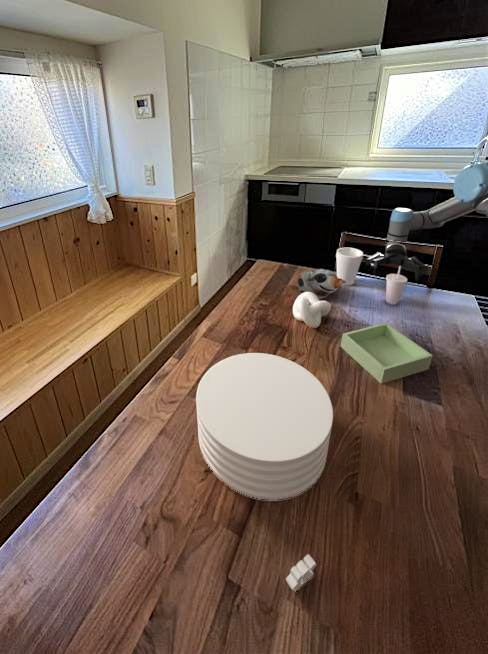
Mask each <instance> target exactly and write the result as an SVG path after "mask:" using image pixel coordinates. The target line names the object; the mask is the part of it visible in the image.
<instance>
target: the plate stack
mask: <svg viewBox="0 0 488 654" xmlns="http://www.w3.org/2000/svg"><path fill="white" fill-rule="evenodd" d="M195 405H196V406H195V407H196V421H197V436H198V443H199V444H198V446H199V449H200V452H201V455H202V454H203V455H202V458H203V461H204V462H205V464H206V465H207V464H208V465H207V467H208V468H209V467H210V468H209V470H210V471H211V470H212V471H213V472H212V471H211V472H212V474H213V475H214V476H215V477H216V479H218V480H219V481H220V482H221V483H222V484H224V483H226V484H227V485H228V486H229V487H228V486H227V485H226V484H224V485H225V486H226V487H228V488H229V489H230V490H232V491H233V492H236V493H237V494H240V495H242V496H244V497H247V498H250V499H254V500H257V501H265V502H280V501H281V502H282V501H286V500H290V499H294V498H296V497H298V496H300V495H303V494H304V493H306V492H307V491H308V490H310V489H311V488H312V487H313V486H314V485H315V484H316V483H317V482H318V480H319V479H320V478H321V476H322V474H323V472H324V469H325V466H326V462H327V458H328V457H327V456H328V451H329V444H330V439H331V433H332V427H333V422H334V421H333V420H334V409H333V405H332V402H331V398H330V396H329V394H328V392H327V390H326V388H325V386H323V384H322V382H321V381H320V380H319V379H318V378H317V377H316V376H315V375H314V374H313V373H311V372H310V371H309V370H308V369H306V368H305V367H303V366H302V365H300V364H298V363H296V362H294V361H293V360H290V359H287V358H285V357H283V356H279V355H275V354H270V353H263V352H246V353H239V354H235V355H232V356H231V355H230V356H228V357H226V358H223V359H222V360H220V361H218V362H216V363H215V364H214V365H212V366H211V367H210V368H209V369H208V370H207V371H206V372H205V373H204V375H203V376H201V379H200V381H199V383H198V386H197V390H196V395H195ZM322 471H323V472H322ZM321 473H322V474H321ZM318 478H319V479H318ZM317 479H318V480H317ZM316 480H317V481H316ZM222 481H223V482H224V483H223V482H222ZM313 484H314V485H313ZM311 485H313V486H311ZM310 486H311V487H310ZM230 487H231V488H230ZM309 487H310V488H309ZM308 488H309V489H308ZM233 489H234V490H233ZM306 489H308V490H306ZM235 490H236V491H235ZM305 490H306V491H305ZM237 491H238V492H237ZM303 491H305V492H303ZM239 492H240V493H239ZM301 492H303V493H301ZM241 493H242V494H241ZM299 493H301V494H299ZM243 494H244V495H243ZM297 494H299V495H297ZM246 495H247V496H246ZM294 495H297V496H295V497H292V498H288V497H291V496H294ZM249 496H250V497H249ZM252 497H254V498H252ZM256 498H258V499H256ZM283 498H288V499H283ZM261 499H269V500H261ZM270 499H271V500H270ZM273 499H274V500H273ZM277 499H283V500H277Z"/></svg>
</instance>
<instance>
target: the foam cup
mask: <svg viewBox="0 0 488 654" xmlns="http://www.w3.org/2000/svg"><path fill="white" fill-rule="evenodd" d="M363 257H364V252H363V251H362V250H361V249H358V248H354V247H348V246H347V247H346V246H345V247H339V248H337V249H336V253H335V258H336V275H337V277H338V278H340V279H342V280H344V281H346V284H345V285H344V286H352V285H354V284H355V281H356V278H357V276H358V272H359V270H360V266H361V263H362V261H363V259H364V258H363Z"/></svg>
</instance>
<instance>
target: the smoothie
mask: <svg viewBox="0 0 488 654" xmlns="http://www.w3.org/2000/svg"><path fill="white" fill-rule="evenodd" d="M401 269H402V266H401V265H399V266H398V269H397V270H398V271H397V273H389V274H386V277H385V280H386V286H385V287H386V289H385V302H386V303H387V304H389V305H397V304H398V303H399V300H400V297H401V295H402V293H403V290H404V289H405V285H406V284H407V283H408V278H407V277H406V276H404V275H402V274H401Z"/></svg>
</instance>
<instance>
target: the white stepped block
mask: <svg viewBox="0 0 488 654" xmlns="http://www.w3.org/2000/svg"><path fill="white" fill-rule="evenodd" d="M317 565H318V564H317V563H316V561H315V560H314V559H313V557H312V556H311V555H310V554H309V553H308V554H306V555H305V556H304V557H303V559H300V560H299V561H298V562H297V563H296V565H293V566H292V567H291V569H290V571H289V574H288V575H286V577H285V582H286V583H287V584H288V586H289V587H290V589H291V590H292V592H294V591H295V592H296V591H297V590H298V589H299V588H300V587H301V588H302V585H303V584H304V583H306V582H307V581H308V580H309V579H310V578H311V577H312V576H313V575H314V576H315V574H314V573H315V572H313V571H314V570H315V568H316V566H317ZM314 576H313V577H312V578H311V579H310V580H309V581H308V582H310V581H311V580H312V579H313V578H314ZM307 579H308V580H307ZM308 582H307V583H308ZM307 583H306V584H307ZM301 588H300V589H301ZM300 589H299V590H300ZM295 592H294V593H295ZM296 593H297V592H296Z"/></svg>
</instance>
